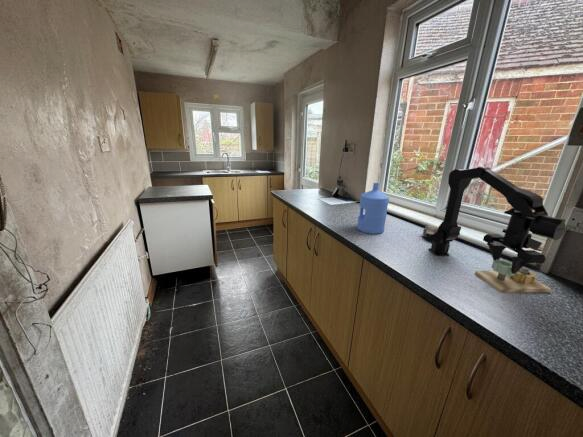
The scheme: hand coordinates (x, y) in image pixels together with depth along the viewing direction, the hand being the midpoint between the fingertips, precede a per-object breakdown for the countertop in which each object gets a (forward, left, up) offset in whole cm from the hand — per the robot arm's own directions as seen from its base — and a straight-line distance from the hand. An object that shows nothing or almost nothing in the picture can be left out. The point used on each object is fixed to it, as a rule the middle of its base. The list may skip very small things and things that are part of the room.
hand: (504, 268), depth 87 cm
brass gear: (+8, 0, -5) cm, 9 cm away
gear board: (+4, 0, -6) cm, 7 cm away
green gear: (0, 0, -1) cm, 1 cm away
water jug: (-31, +55, -6) cm, 63 cm away
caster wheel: (-1, +41, -6) cm, 42 cm away
